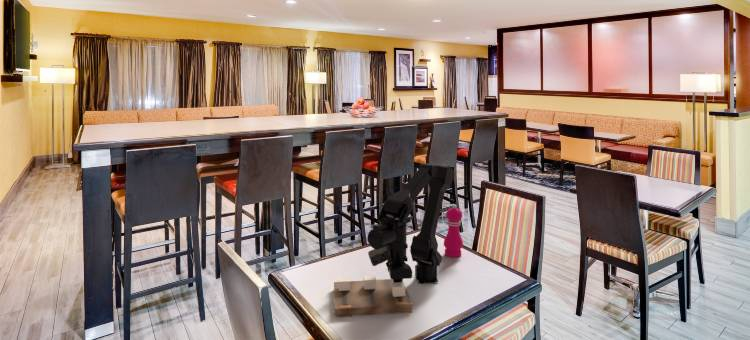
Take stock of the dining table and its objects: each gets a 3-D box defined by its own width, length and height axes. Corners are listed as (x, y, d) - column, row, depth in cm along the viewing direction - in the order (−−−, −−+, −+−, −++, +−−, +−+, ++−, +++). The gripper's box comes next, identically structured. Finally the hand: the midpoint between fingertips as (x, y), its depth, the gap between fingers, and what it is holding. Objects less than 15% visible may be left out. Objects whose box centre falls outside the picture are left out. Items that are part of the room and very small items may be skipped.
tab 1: (349, 285, 136) (349, 276, 136) (350, 290, 133) (350, 281, 133) (338, 286, 136) (337, 277, 135) (338, 291, 133) (338, 281, 132)
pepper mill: (441, 256, 166) (442, 205, 162) (445, 249, 173) (447, 200, 169) (460, 259, 164) (462, 207, 160) (464, 252, 170) (465, 202, 166)
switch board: (401, 285, 143) (401, 278, 142) (412, 312, 126) (412, 304, 126) (334, 289, 140) (333, 281, 140) (335, 317, 124) (335, 308, 123)
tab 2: (375, 284, 137) (375, 275, 137) (376, 288, 134) (376, 279, 134) (363, 285, 137) (363, 276, 136) (364, 289, 134) (364, 280, 133)
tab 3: (403, 291, 133) (403, 282, 132) (405, 296, 130) (405, 286, 129) (391, 292, 132) (391, 282, 132) (393, 296, 129) (393, 287, 129)
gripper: (367, 230, 139) (367, 276, 142) (373, 252, 121) (373, 304, 124) (401, 228, 140) (401, 274, 143) (412, 250, 122) (412, 302, 125)
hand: (396, 287), depth 134 cm, fingers closed
